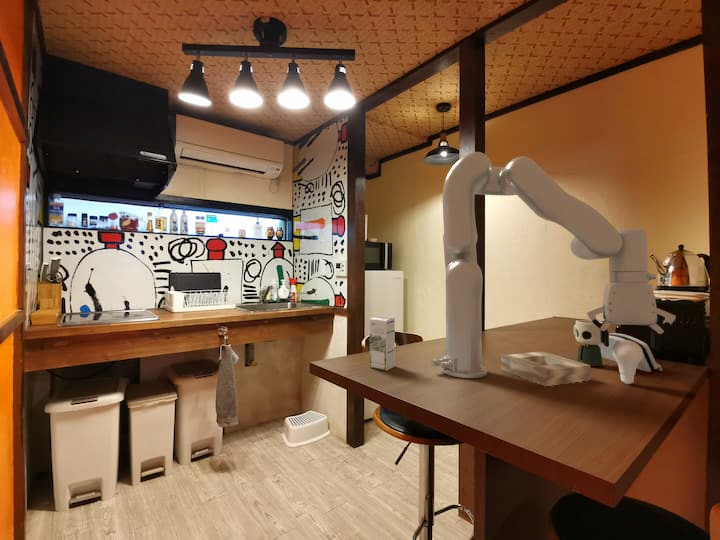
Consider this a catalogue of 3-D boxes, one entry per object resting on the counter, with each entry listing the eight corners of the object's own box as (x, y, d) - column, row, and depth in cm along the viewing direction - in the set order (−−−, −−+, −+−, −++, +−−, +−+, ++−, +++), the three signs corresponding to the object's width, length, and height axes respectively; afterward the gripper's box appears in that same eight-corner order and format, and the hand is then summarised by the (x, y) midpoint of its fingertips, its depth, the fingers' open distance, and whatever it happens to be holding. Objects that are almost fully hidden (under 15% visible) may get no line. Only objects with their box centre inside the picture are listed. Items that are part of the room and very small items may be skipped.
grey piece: (663, 371, 93) (652, 338, 92) (649, 377, 92) (638, 344, 92) (613, 355, 109) (603, 327, 109) (600, 360, 109) (591, 332, 109)
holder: (544, 387, 80) (544, 370, 80) (500, 369, 95) (500, 355, 94) (590, 380, 85) (590, 365, 85) (541, 364, 99) (541, 351, 99)
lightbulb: (605, 380, 85) (605, 337, 85) (627, 379, 86) (627, 337, 86) (626, 388, 79) (626, 343, 79) (650, 388, 80) (650, 342, 80)
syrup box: (395, 366, 98) (395, 317, 98) (386, 371, 93) (386, 319, 93) (378, 363, 101) (378, 315, 101) (368, 368, 96) (368, 318, 96)
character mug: (564, 360, 103) (564, 319, 103) (583, 359, 105) (583, 318, 105) (596, 371, 93) (596, 325, 93) (617, 369, 94) (617, 324, 94)
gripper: (668, 277, 82) (669, 347, 82) (584, 278, 90) (585, 341, 90) (680, 279, 75) (682, 354, 75) (588, 279, 83) (590, 347, 83)
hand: (629, 347), depth 82 cm, fingers open, 9 cm apart
